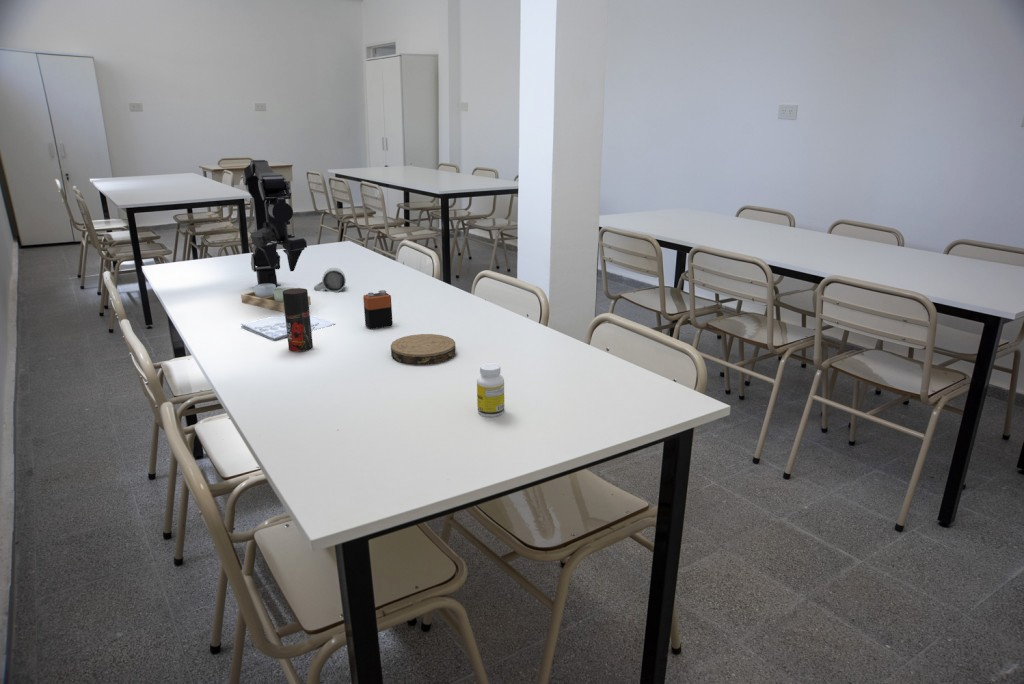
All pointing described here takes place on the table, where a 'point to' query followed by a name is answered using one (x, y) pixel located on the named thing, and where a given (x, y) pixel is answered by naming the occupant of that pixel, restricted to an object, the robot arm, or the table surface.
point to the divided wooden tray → (264, 301)
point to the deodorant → (297, 319)
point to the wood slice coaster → (423, 349)
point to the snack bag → (280, 326)
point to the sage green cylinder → (280, 294)
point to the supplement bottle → (490, 390)
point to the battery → (378, 310)
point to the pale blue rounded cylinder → (264, 290)
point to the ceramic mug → (332, 281)
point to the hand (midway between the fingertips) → (282, 269)
